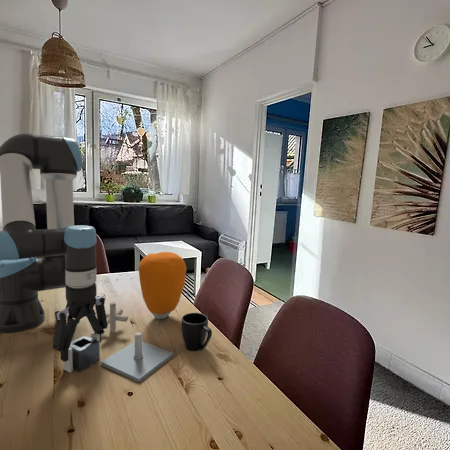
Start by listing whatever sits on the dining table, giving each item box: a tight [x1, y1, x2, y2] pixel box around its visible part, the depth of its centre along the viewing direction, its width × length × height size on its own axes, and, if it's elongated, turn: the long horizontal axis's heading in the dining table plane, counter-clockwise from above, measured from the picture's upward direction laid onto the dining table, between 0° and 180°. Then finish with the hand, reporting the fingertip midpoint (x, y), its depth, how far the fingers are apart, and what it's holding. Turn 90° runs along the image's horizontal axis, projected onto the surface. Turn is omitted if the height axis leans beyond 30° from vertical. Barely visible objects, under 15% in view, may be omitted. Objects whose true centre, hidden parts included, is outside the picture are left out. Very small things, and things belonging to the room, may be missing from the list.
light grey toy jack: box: [105, 301, 129, 334], centre depth 102 cm, size 10×10×10 cm
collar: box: [70, 335, 100, 373], centre depth 84 cm, size 6×6×6 cm
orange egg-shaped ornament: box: [138, 251, 187, 320], centre depth 113 cm, size 17×17×25 cm
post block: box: [100, 332, 174, 383], centre depth 87 cm, size 14×14×8 cm
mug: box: [181, 312, 213, 352], centre depth 94 cm, size 8×12×10 cm
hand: (82, 362), depth 85 cm, fingers open, 8 cm apart
